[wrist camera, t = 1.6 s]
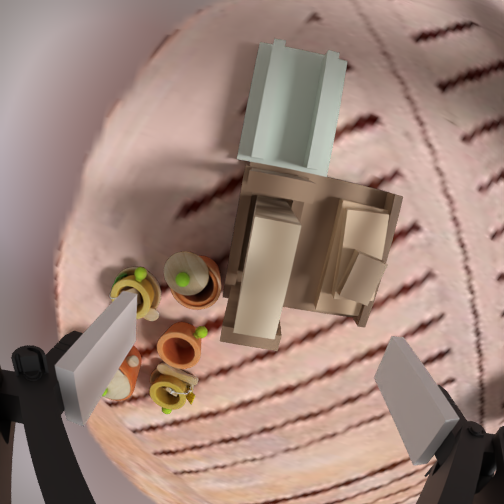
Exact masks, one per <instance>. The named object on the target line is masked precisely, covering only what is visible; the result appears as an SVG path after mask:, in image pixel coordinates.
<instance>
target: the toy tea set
mask: <svg viewBox="0 0 504 504" xmlns="http://www.w3.org/2000/svg"><path fill="white" fill-rule="evenodd" d="M164 277H165V280H166V282H167V284H168V285H169V287H170V289H171V292H172V295H173V296H174V298H175V299H176V300H177V301H178V302H179V303H180V304H181V305H183V306H184V307H186V308H189V309H194V310H200V309H205V308H208V307H210V306H212V305H213V304H214V303H215V302H216V301H217V300H218V298H219V296H220V293H221V278H220V270H219V267H218V265H217V264H216V263H215V262H214V261H213V260H212V259H211V258H209V257H206V256H198V255H197V254H194V253H192V252H187V251H183V252H178V253H175V254H174V255H172V256H171V257H170V258H169V259H168V260H167V262H166V264H165V266H164ZM123 291H126V292H130V293H134V294H137V315H136V319H140V318H144V319H146V320H148V321H155V320H157V319H158V318H159V312H158V311H157V310H156V308H157V307H158V305H159V303H160V300H161V289H160V286H159V283H158V282H157V280H156V278H155V277H154V276H153V275H152V274H151V273H150V272H148V271H147V270H146V269H145V268H143V267H129V268H126V269H124V270H122V271H121V272H120V273H119V274H118V275H117V277H116V278H115V281H114V284H113V286H112V291H111V292H110V295H109V297H110V299H111V300H112V302H113V301H114V300H115V299H116V298H117V297H118V296H119V295H120V294H121V293H122V292H123ZM206 335H207V329H206V328H205V327H204V326H199V327H197V328H196V327H195V326H193V325H191V324H189V323H186V322H178V323H175V324H173V325H172V326H171V327H170V328H169V329H168V330H167V331H166V332H165V333H164V334H163V335H162V336H161V337H160V339H159V340H158V343H157V351H158V354H159V356H160V357H161V359H162V360H163V361H164V362H165V363H159V364H158V365H157V368H156V369H155V370H154V371H153V372H152V373H151V375H150V384H151V387H150V390H149V393H150V396H151V398H152V400H153V401H154V402H155V403H156V404H158V405H159V406H161V407H162V412H163V413H165V414H170V413H171V411H172V409H173V410H174V409H179V408H181V407H182V406H183V405H184V404H185V402H186V399H187V400H188V401H189V402H190V404H191V405H192V402H193V400H194V398H195V395H194V394H193V389H194V385H196V384H197V383H198V378H197V377H195V376H193V375H190V374H187V373H185V372H184V371H182V370H181V369H187V368H191V367H193V366H194V365H196V364H197V363H198V361H199V359H200V355H201V338H204V337H205V336H206ZM140 366H141V355H140V353H139V351H138V350H137V348H136V347H135V346H134V345H133V346H132V348H131V349H130V351H129V353H128V354H127V356H126V357H125V359H124V361H123V362H122V364H121V365H120V367H119V369H118V370H117V372H116V374H115V375H114V377H113V378H112V380H111V382H110V383H109V385H108V387H107V388H106V390H105V392H104V393H103V395H102V396H103V397H105V398H108V399H111V400H116V401H119V400H125V399H127V398H129V397H130V396H131V395H132V393H133V391H134V388H135V384H136V381H137V377H138V373H139V370H140Z"/></svg>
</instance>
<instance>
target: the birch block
mask: <svg viewBox="0 0 504 504" xmlns="http://www.w3.org/2000/svg"><path fill="white" fill-rule="evenodd" d="M300 230H301V224H300V222H299V221H298V219H297V217H296V216H295V214H294V213H293V211H292V209H291V208H290V206H289V205H288V203H287V201H286V200H280V199H275V198H270V197H265V196H260V195H257V200H256V205H255V210H254V216H253V221H252V226H251V232H250V237H249V242H248V248H247V253H246V259H245V264H244V269H243V275H242V281H241V288H240V294H239V300H238V306H237V313H236V319H235V325H234V331H233V333H238V334H244V335H250V336H255V337H262V338H268V339H274V340H275V336H276V332H277V328H278V324H279V320H280V316H281V312H282V308H283V303H284V299H285V295H286V291H287V287H288V283H289V278H290V274H291V270H292V266H293V261H294V257H295V252H296V248H297V244H298V239H299V235H300Z"/></svg>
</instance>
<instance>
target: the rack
mask: <svg viewBox="0 0 504 504" xmlns="http://www.w3.org/2000/svg"><path fill="white" fill-rule="evenodd" d="M257 195H260V196H265V197H270V198H275V199H280V200H286V201H287V203H288V205H289V206H290V208H291V209H292V211H293V213H294V214H295V216H296V217H297V219H298V221H299V222H300V224H301V230H300V235H299V239H298V244H297V248H296V252H295V257H294V261H293V266H292V270H291V274H290V278H289V283H288V287H287V291H286V295H285V299H284V303H283V307H288V308H294V309H300V310H307V311H313V312H319V313H326V314H333V315H340V316H346V317H353V319H354V321H355V322H356V324H357V326H358V327H365V326H366V323H367V320H368V318H369V315H370V312H371V309H372V306H373V303H374V300H375V297H376V294H377V291H378V287H379V284H380V281H381V278H382V276H383V274H384V271H385V269H386V267H387V264H386V261H387V258H388V254H389V251H390V247H391V243H392V240H393V236H394V232H395V228H396V224H397V220H398V216H399V212H400V208H401V204H402V199H403V197H402V196H399V195H396V194H392V193H389V192H385V191H381V190H378V189H374V188H370V187H366V186H362V185H358V184H354V183H350V182H346V181H342V180H338V179H333V178H329V177H324V176H320V175H315V174H311V173H306V172H302V171H297V170H292V169H287V168H282V167H277V166H272V165H267V164H261V163H256V162H250V166H247V165H245V170H244V176H243V181H242V187H241V192H240V198H239V204H238V209H237V215H236V221H235V226H234V232H233V238H232V244H231V249H230V255H229V261H228V267H227V273H226V279H225V285H224V291H223V297H225V298H229V299H228V303H227V307H226V312H225V316H224V321H223V325H222V331H221V337H220V341H221V342H227V343H232V344H238V345H244V346H250V347H256V348H262V349H268V350H275V351H278V347H279V343H280V339H281V327H280V320H279V324H278V328H277V332H276V336H275V340H274V339H268V338H262V337H255V336H250V335H244V334H238V333H233V331H234V325H235V319H236V313H237V306H238V300H239V294H240V288H241V281H242V275H243V269H244V264H245V259H246V253H247V248H248V242H249V237H250V232H251V226H252V221H253V216H254V210H255V205H256V200H257Z"/></svg>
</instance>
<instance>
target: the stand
mask: <svg viewBox="0 0 504 504" xmlns="http://www.w3.org/2000/svg"><path fill="white" fill-rule="evenodd" d="M285 44H286V40H281V39H274V43H273V44H268V43H262V42H260V44H259V49H258V54H257V59H256V63H255V68H254V73H253V78H252V83H251V88H250V93H249V98H248V103H247V108H246V113H245V118H244V124H243V129H242V134H241V139H240V145H239V150H238V156H237V159H239V160H245V161H250V162H256V163H261V164H267V165H272V166H277V167H282V168H287V169H292V170H297V171H302V172H306V173H311V174H315V175H320V176H324V177H327V173H328V168H329V163H330V158H331V153H332V148H333V142H334V137H335V132H336V126H337V121H338V115H339V109H340V104H341V98H342V92H343V86H344V79H345V73H346V67H347V61H345V60H341V59H339V53H338V52H335V51H331V50H328V51H327V53H326V54H325V55H322V54H318V53H313V52H309V51H305V50H300V49H295V48H290V47H285Z"/></svg>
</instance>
